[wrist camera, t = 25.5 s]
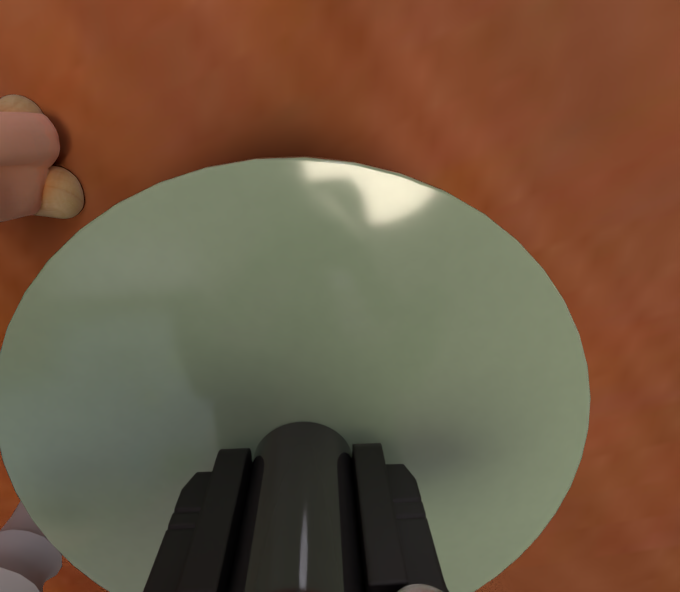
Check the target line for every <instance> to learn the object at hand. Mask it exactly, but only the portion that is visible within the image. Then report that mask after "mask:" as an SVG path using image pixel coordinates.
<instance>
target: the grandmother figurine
mask: <svg viewBox="0 0 680 592" xmlns="http://www.w3.org/2000/svg"><path fill="white" fill-rule="evenodd" d="M59 152H60V143H59V136H58V133H57V130H56V129H55V127H54V125H53V124H52V122H51V121H50V120H49V119H48V117H46V116H45V115H44V114H43V113H42V111H41V109H40V108H39V107H38V106H37V105H36V104H35V103H34V102H33V101H31V100H30V99H28V98H26V97H24V96H20V95H7V96H4V97H2V98H0V222H3V221H8V220H12V219H16V218H20V217H24V216H29V215H38V216H46V217H53V218H61V219H65V218H72V217H74V216H76V215H77V214H79V212H80V211H81V210H82V208H83V205H84V195H83V190H82V188H81V185H80V183H79V181H78V179H77V178H76V177H75V176H74V175H73V174H72V173H71V172H69V171H68V170H66V169H64V168H61V167H58V166H51V165H52V164H53V163H54V162H55V161H56V159H57V158H58V156H59Z"/></svg>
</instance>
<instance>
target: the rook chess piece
mask: <svg viewBox="0 0 680 592" xmlns="http://www.w3.org/2000/svg"><path fill="white" fill-rule="evenodd" d="M61 567H62V554H61V553H60V552H59V551H58V550H57V549H56V548H55V547H54V546H53V545H52V544H51V543H50V542H49V540H48V539H47V538H46V537H45V535H44V534H43V533H42V532H41V530H40V529H39V528H38V527H37V525H36V524H35V523H34V522H33V520H32V519H31V517H30V516H29V514H28V512H27V511H26V509H25V507H24V505H23V504H22V502H21V501H20V503H19V504H18V506H17V508H16V509H15V511H14V513H13V514H12V516H11V518H10V519H9V520H8V521H7V523H6V524H5V525H4V526H3V528H2V529H1V530H0V592H43V588H42V587H43V585H44V583H45V581H47V580H48V579H50V578H52V577H54V576H55V575H57V573H58V572H59V570H60V568H61Z"/></svg>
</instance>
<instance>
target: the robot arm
mask: <svg viewBox="0 0 680 592" xmlns="http://www.w3.org/2000/svg"><path fill="white" fill-rule="evenodd" d="M352 461H353V471H354V481H355V490H356V500H357V510H358V520H359V530H360V539H361V549H362V559H363V569H364V578H365V588H366V592H449V591H448V589H447V587H446V584H445V581H444V578H443V574H442V571H441V567H440V563H439V560H438V556H437V553H436V549H435V545H434V542H433V538H432V535H431V531H430V527H429V524H428V520H427V518H426V513H425V510H424V506H423V502H422V501H421V495H420V492H419V488H418V484H417V481H416V479H415V477H414V476H413V475H412V474H411V473H410V471H409V470H408V469H407V468H406V466H405V465H404V464H385V459H384V454H383V449H382V445H381V443H366V444H353V445H352ZM251 467H252V455H251V450H250V448H234V449H220V450H219V452H218V454H217V457H216V460H215V464H214V467H213V470H212V472H196V474H195V475H194V476H193V477H192V478H191V479H190V480H189V482H188V483H187V484H186V485H185V486H184V487H183V488H182V490H181V492H180V495H179V498H178V500H177V503H176V506H175V508H174V513H173V514H172V516H171V519H170V522H169V524H168V530H166V532H165V535H164V537H163V540H162V543H161V545H160V548H159V551H158V553H157V556H156V558H155V561H154V564H153V566H152V569H151V572H150V574H149V577H148V580H147V582H146V585H145V587H144V590H143V592H227V588H228V583H229V578H230V573H231V568H232V563H233V558H234V553H235V548H236V543H237V538H238V533H239V528H240V523H241V518H242V513H243V508H244V503H245V498H246V493H247V488H248V483H249V478H250V472H251Z"/></svg>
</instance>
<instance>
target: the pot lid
mask: <svg viewBox="0 0 680 592" xmlns="http://www.w3.org/2000/svg"><path fill="white" fill-rule="evenodd" d="M589 411H590V388H589V377H588V366H587V362H586V358H585V355H584V351H583V347H582V343H581V339H580V335H579V332H578V330H577V327H576V325H575V323H574V321H573V319H572V316H571V314H570V312H569V310H568V307H567V305H566V303H565V301H564V299H563V297H562V296H561V294H560V293H559V291H558V290H557V288H556V287H555V285H554V284H553V282H552V281H551V279H550V278H549V276H548V275H547V273H546V272H545V270H544V269H543V268H542V267H541V266H540V264H539V263H538V262H537V261H536V260H535V259H534V258H533V257H532V256H531V255H530V254H529V252H528V251H527V250H526V249H525V248H524V247H523V246H522V245H521V244H520V243H519V242H518V241H517V240H516V239H515V238H514V237H513V236H511V235H510V234H509V233H508V232H506V231H505V230H504V229H503V228H501V227H500V226H499V225H498V224H496V223H495V222H494V221H493V220H491V219H490V218H489V217H488V216H486V215H485V214H484V213H482V212H480V211H479V210H477V209H475V208H473V207H472V206H470V205H468V204H467V203H465V202H463V201H461V200H460V199H458V198H456V197H454V196H453V195H451V194H449V193H448V192H446V191H444V190H442V189H440V188H437V187H435V186H432V185H430V184H427V183H425V182H422V181H420V180H417V179H415V178H412V177H410V176H407V175H405V174H402V173H400V172H396V171H392V170H388V169H384V168H380V167H376V166H372V165H368V164H363V163H359V162H355V161H349V160H339V159H329V158H319V157H310V156H293V157H264V158H253V159H247V160H242V161H236V162H230V163H224V164H219V165H213V166H209V167H205V168H202V169H199V170H196V171H193V172H190V173H187V174H184V175H181V176H178V177H175V178H172V179H168V180H165V181H162V182H159V183H157V184H155V185H153V186H151V187H149V188H147V189H145V190H143V191H141V192H139V193H137V194H135V195H133V196H131V197H129V198H127V199H125V200H123V201H121V202H119V203H117V204H115V205H114V206H113V207H111V208H110V209H108V210H107V211H105V212H104V213H103V214H101V215H100V216H98V217H97V218H95V219H94V220H93V221H91V222H90V223H88V224H87V225H85V226H84V227H83V228H81V229H80V230H79V231H78V232H77V233H76V234H75V235H74V236H73V237H71V238H70V239H69V240H68V241H67V242H66V243H65V244H64V245H63V246H62V247H61V248H60V249H59V250H58V251H57V252H56V253H55V254H54V255H53V256H52V257H51V258H50V259H49V260H48V261H47V263H46V264H45V265H44V267H43V268H42V270H41V271H40V272H39V274H38V275H37V276H36V278H35V279H34V280H33V282H32V283H31V284H30V286H29V287H28V289H27V290H26V291H25V293H24V295H23V297H22V299H21V301H20V303H19V305H18V307H17V309H16V311H15V313H14V315H13V317H12V319H11V321H10V323H9V325H8V327H7V331H6V334H5V338H4V341H3V344H2V348H1V351H0V451H1V455H2V459H3V463H4V465H5V468H6V470H7V473H8V475H9V477H10V480H11V482H12V485H13V487H14V490H15V492H16V494H17V495H18V497H19V499H20V500H21V502H22V504H23V505H24V507H25V509H26V511H27V512H28V514H29V516H30V517H31V519H32V520H33V522H34V523H35V524H36V525H37V527H38V528H39V529H40V530H41V532H42V533H43V534H44V535H45V537H46V538H47V539H48V540H49V542H50V543H51V544H52V545H53V546H54V547H55V548H56V549H57V550H58V551H59V552H60V553H61V554H62V555H63V556H64V557H65V558H66V559H67V560H68V561H69V562H70V563H71V564H72V565H73V566H75V567H76V568H77V569H78V570H80V571H81V572H82V573H84V574H85V575H86V576H87V577H89V578H90V579H91V580H93V581H94V582H95V583H96V584H98V585H99V586H101V587H102V588H104V589H106V590H107V591H109V592H143V590H144V587H145V585H146V582H147V580H148V577H149V574H150V572H151V569H152V566H153V564H154V561H155V558H156V556H157V553H158V551H159V548H160V545H161V543H162V540H163V537H164V535H165V532H166V530H168V524H169V522H170V519H171V516H172V514H173V513H174V508H175V506H176V503H177V500H178V498H179V495H180V492H181V490H182V488H183V487H184V486H185V485H186V484H187V483H188V482H189V480H190V479H191V478H192V477H193V476H194V475H195V474H196V472H212V470H213V467H214V464H215V460H216V457H217V454H218V452H219V450H220V449H234V448H250V450H251V455H252V467H251V472H250V478H249V483H248V488H247V493H246V498H245V503H244V508H243V513H242V518H241V523H240V528H239V533H238V538H237V543H236V548H235V553H234V558H233V563H232V568H231V573H230V578H229V583H228V588H227V592H366V588H365V578H364V569H363V559H362V549H361V539H360V530H359V520H358V510H357V500H356V490H355V481H354V471H353V461H352V445H353V444H366V443H381V445H382V449H383V454H384V459H385V464H404V465H405V466H406V468H407V469H408V470H409V471H410V473H411V474H412V475H413V476H414V477H415V479H416V481H417V484H418V488H419V492H420V495H421V501H422V502H423V506H424V510H425V513H426V518H427V520H428V524H429V527H430V531H431V535H432V538H433V542H434V545H435V549H436V553H437V556H438V560H439V563H440V567H441V571H442V574H443V578H444V581H445V584H446V587H447V589H448V591H449V592H475V591H476V590H477V589H479V588H480V587H482V586H483V585H485V584H486V583H488V582H489V581H490V580H492V579H493V578H495V577H496V576H498V575H499V574H500V573H501V572H502V571H503V570H505V569H506V568H507V567H508V566H509V565H510V564H512V563H513V562H514V561H515V560H516V559H517V558H519V557H520V556H521V555H522V553H523V552H524V551H525V550H526V549H527V548H528V547H529V546H530V545H531V544H532V543H533V542H534V541H535V540H536V538H537V537H538V536H539V535H540V534H541V532H542V531H543V530H544V528H545V527H546V526H547V524H548V523H549V522H550V520H551V519H552V517H553V516H554V515H555V513H556V512H557V510H558V508H559V507H560V505H561V503H562V501H563V499H564V498H565V496H566V494H567V492H568V490H569V489H570V487H571V484H572V482H573V479H574V477H575V474H576V472H577V469H578V466H579V464H580V461H581V459H582V454H583V450H584V445H585V441H586V437H587V432H588V425H589Z"/></svg>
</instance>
